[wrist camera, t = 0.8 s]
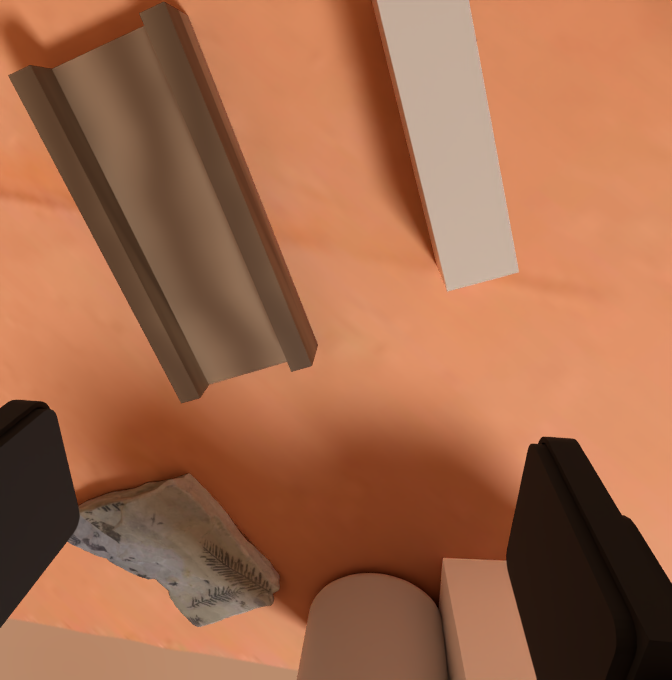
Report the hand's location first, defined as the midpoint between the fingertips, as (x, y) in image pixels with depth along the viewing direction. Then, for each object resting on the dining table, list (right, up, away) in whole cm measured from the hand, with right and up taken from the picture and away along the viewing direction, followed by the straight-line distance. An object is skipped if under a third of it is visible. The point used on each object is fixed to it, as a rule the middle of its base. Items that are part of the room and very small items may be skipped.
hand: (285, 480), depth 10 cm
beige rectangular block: (+7, +16, +21) cm, 27 cm away
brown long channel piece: (-9, +11, +24) cm, 28 cm away
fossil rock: (-14, -16, +37) cm, 43 cm away
